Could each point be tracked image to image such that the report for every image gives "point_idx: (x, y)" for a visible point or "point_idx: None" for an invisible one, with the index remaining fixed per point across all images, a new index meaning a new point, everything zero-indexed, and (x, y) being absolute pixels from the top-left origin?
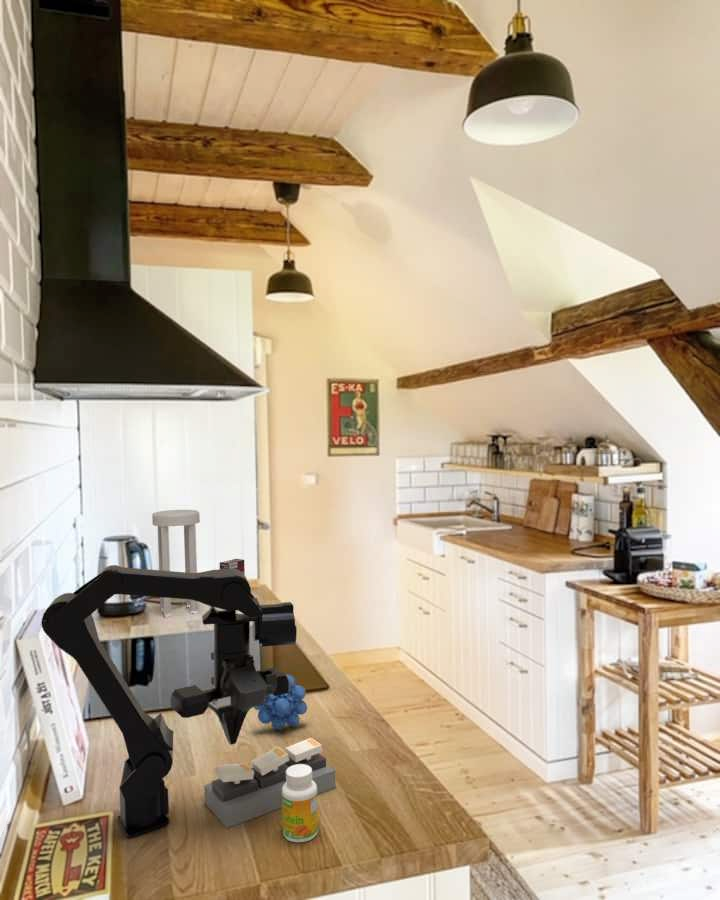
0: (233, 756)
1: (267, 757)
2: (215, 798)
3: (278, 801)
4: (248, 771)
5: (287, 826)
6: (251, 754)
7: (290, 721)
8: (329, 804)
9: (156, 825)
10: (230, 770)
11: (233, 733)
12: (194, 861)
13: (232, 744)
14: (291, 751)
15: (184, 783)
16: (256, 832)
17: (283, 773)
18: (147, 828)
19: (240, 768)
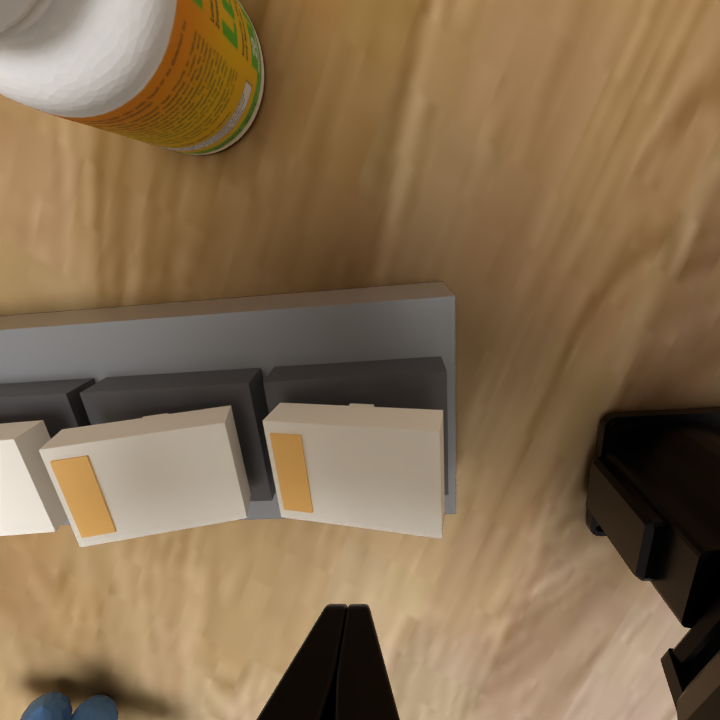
0: (272, 646)
1: (160, 492)
2: (454, 408)
3: (214, 305)
4: (291, 428)
5: (236, 4)
6: (218, 631)
7: (52, 713)
8: (32, 218)
9: (658, 417)
10: (385, 466)
11: (341, 709)
12: (646, 124)
13: (355, 604)
14: (29, 486)
15: (454, 595)
16: (353, 188)
17: (130, 388)
18: (694, 416)
19: (322, 471)
